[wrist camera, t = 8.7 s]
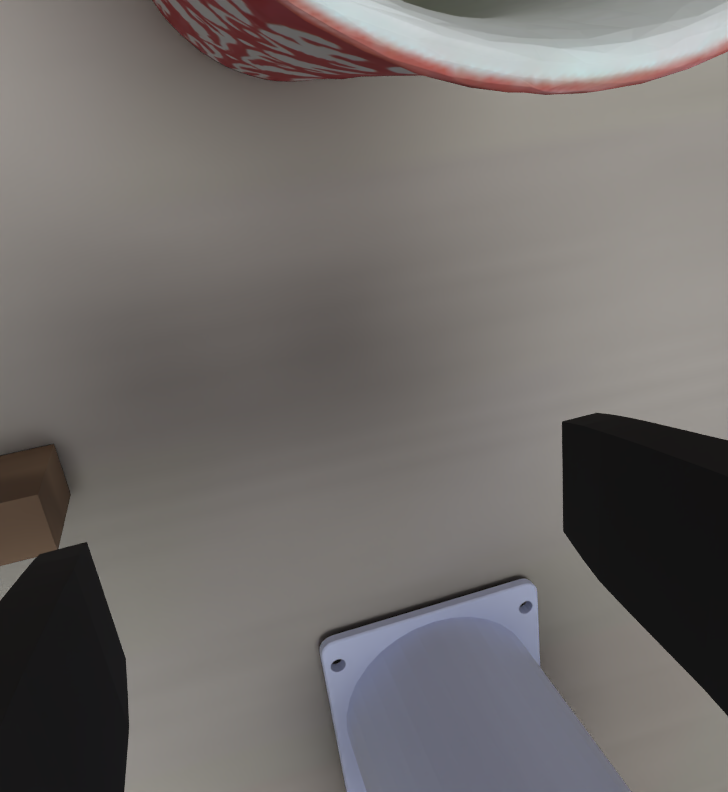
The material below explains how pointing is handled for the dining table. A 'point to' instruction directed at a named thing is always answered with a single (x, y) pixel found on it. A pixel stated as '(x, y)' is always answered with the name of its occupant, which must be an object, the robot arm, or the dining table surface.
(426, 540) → the dining table surface
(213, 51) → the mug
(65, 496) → the rail
